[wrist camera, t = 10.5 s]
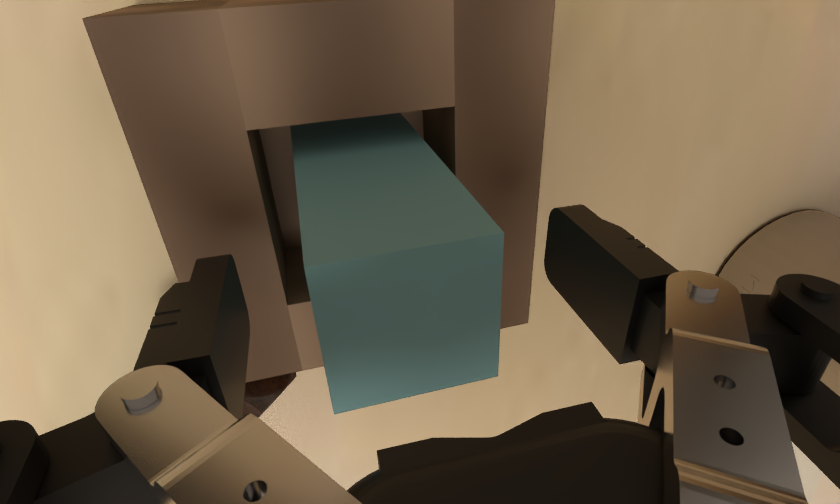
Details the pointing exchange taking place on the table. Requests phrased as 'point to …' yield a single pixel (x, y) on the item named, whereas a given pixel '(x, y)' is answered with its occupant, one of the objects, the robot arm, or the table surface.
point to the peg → (394, 262)
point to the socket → (317, 102)
